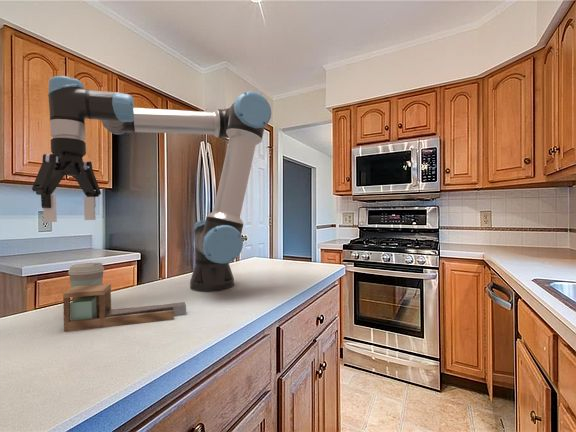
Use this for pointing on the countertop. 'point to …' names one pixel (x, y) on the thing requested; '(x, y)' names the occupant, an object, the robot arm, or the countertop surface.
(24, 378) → the countertop surface
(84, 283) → the coffee cup
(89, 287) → the track
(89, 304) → the block
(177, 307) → the bar
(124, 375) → the countertop surface
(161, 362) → the countertop surface
